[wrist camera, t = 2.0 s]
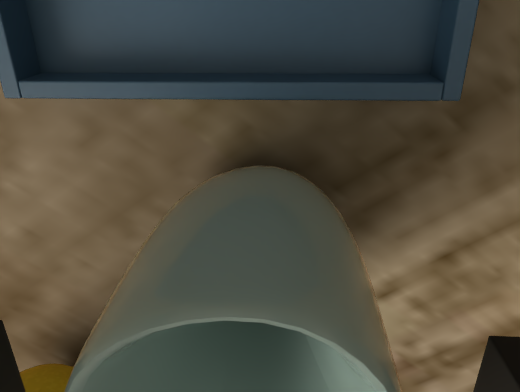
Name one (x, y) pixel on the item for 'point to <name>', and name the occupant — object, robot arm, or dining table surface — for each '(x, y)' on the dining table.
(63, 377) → the lemon
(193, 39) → the tray
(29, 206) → the dining table surface
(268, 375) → the cup
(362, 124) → the dining table surface
